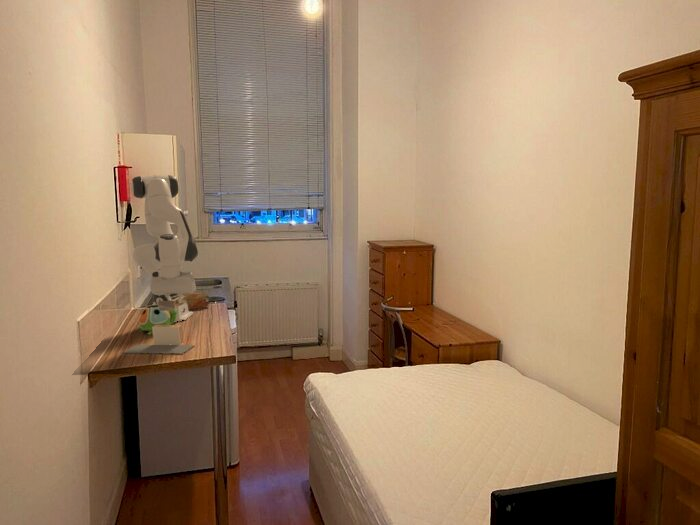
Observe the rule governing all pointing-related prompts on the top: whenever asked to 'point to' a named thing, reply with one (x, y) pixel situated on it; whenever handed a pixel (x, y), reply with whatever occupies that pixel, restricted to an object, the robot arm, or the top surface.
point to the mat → (158, 349)
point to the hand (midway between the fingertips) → (174, 303)
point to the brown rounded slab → (197, 300)
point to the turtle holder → (155, 318)
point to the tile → (167, 334)
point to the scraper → (171, 304)
